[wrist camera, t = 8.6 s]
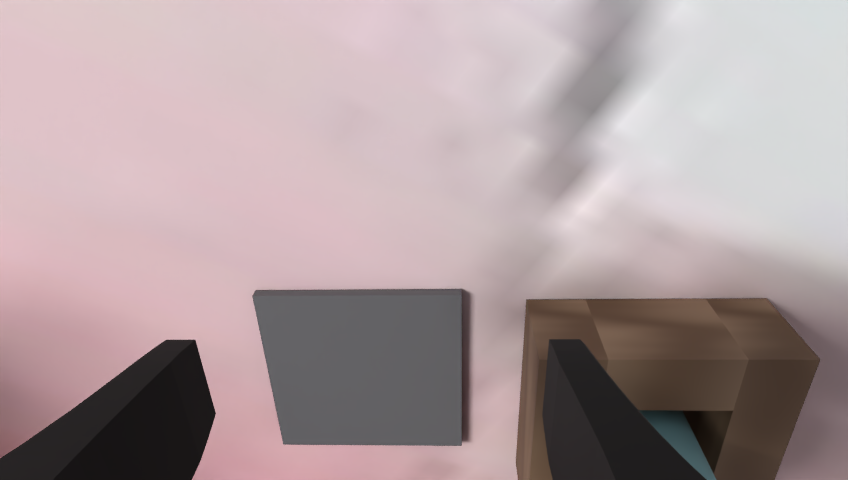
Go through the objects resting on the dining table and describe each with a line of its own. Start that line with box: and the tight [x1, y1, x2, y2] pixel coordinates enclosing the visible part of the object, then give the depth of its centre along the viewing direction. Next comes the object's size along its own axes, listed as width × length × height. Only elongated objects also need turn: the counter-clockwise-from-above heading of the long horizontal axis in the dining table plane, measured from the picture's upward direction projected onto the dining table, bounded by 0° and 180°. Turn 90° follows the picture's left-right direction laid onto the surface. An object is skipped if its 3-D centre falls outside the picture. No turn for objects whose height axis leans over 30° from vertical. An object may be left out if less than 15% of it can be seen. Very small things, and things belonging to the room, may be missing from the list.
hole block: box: [516, 298, 820, 480], centre depth 22 cm, size 9×9×4 cm
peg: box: [639, 410, 716, 480], centre depth 20 cm, size 3×3×9 cm
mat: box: [253, 289, 462, 446], centre depth 24 cm, size 8×8×1 cm
